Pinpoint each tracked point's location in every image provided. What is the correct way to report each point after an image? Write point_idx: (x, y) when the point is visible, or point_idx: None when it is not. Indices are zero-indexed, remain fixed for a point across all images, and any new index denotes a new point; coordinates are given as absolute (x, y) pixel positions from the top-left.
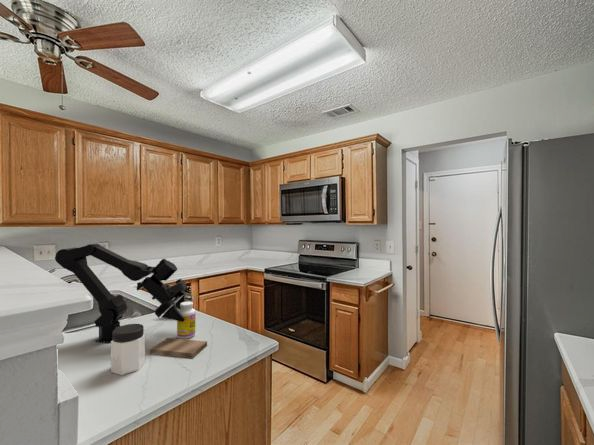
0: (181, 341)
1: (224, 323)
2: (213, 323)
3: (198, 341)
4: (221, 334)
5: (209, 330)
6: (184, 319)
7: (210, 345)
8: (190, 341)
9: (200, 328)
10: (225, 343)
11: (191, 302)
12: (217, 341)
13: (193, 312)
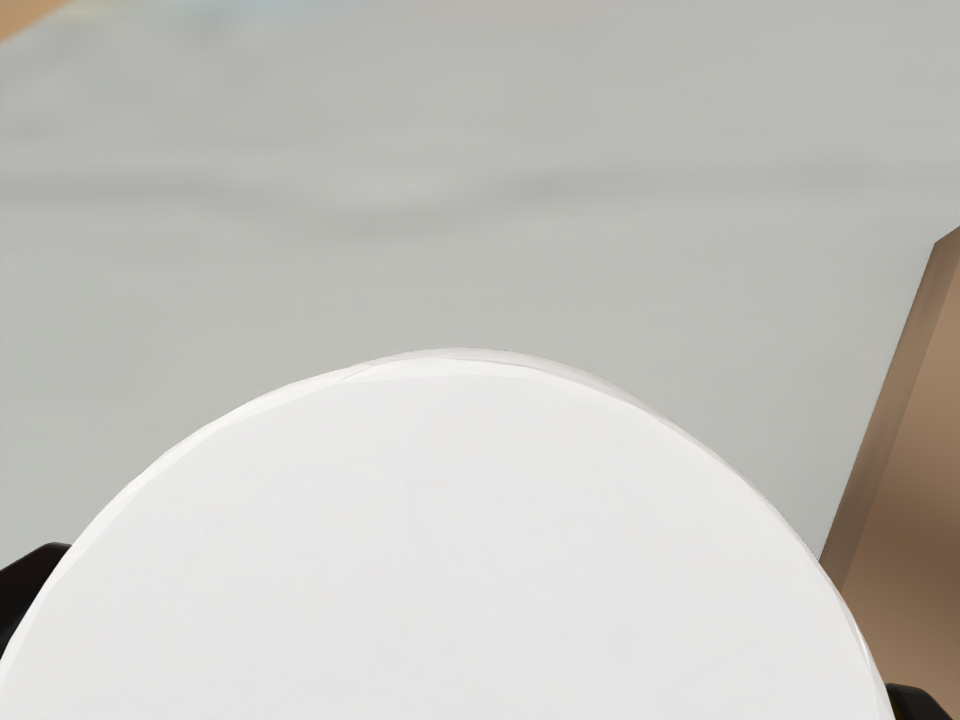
0: (922, 662)
1: (90, 13)
2: (17, 183)
3: (957, 352)
4: (549, 55)
5: (329, 235)
6: (922, 693)
7: (928, 196)
8: (939, 491)
9: (183, 392)
10: (887, 3)
11: (312, 463)
12: (801, 105)
13: (638, 398)
